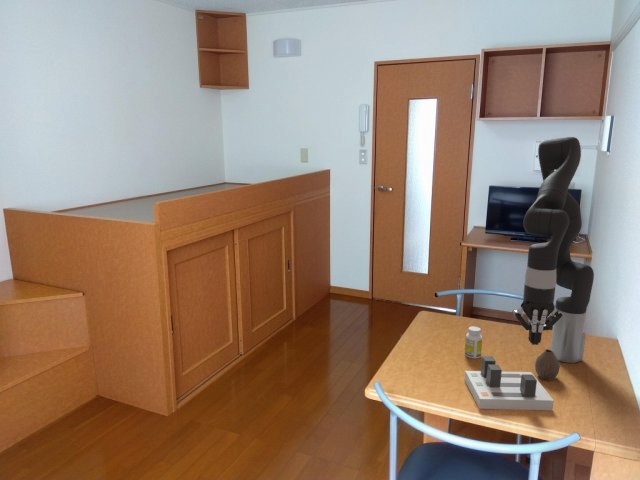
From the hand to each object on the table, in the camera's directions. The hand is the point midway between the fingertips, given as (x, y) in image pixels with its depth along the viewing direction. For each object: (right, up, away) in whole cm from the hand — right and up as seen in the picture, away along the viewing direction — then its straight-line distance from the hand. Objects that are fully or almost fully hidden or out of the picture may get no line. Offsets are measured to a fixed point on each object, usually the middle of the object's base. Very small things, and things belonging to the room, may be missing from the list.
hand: (534, 343), depth 133 cm
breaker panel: (-4, -17, +9) cm, 20 cm away
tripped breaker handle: (-1, -15, +3) cm, 15 cm away
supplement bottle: (-6, -11, +34) cm, 36 cm away
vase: (+12, -15, +19) cm, 27 cm away
